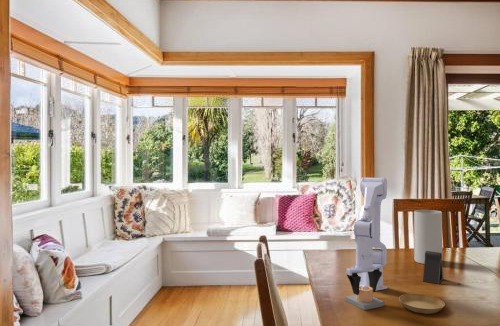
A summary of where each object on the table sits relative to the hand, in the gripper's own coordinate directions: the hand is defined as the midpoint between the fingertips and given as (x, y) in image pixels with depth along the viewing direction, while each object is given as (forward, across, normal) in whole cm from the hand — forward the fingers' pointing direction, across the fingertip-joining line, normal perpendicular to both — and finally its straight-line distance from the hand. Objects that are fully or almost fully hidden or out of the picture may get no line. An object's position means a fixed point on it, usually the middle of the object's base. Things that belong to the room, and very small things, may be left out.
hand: (364, 292), depth 145 cm
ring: (+2, 0, 0) cm, 2 cm away
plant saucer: (+4, +15, -12) cm, 20 cm away
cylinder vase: (+4, +66, +30) cm, 73 cm away
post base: (+4, 0, 0) cm, 4 cm away
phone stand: (+4, +44, +8) cm, 45 cm away
